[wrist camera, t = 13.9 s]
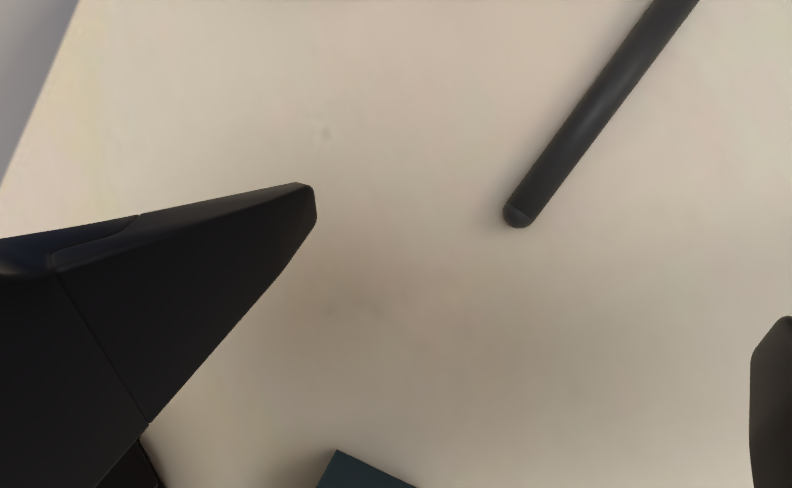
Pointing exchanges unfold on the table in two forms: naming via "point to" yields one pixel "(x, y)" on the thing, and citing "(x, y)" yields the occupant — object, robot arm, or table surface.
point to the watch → (356, 475)
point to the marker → (596, 109)
